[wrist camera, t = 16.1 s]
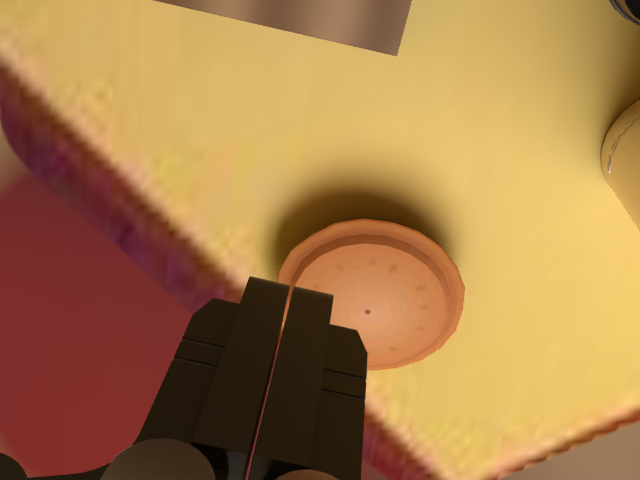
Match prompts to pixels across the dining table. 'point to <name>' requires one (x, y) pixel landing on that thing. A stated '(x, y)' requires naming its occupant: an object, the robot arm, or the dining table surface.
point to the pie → (381, 287)
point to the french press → (628, 9)
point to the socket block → (320, 18)
